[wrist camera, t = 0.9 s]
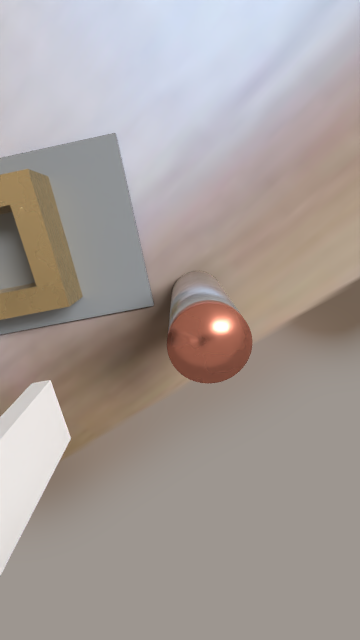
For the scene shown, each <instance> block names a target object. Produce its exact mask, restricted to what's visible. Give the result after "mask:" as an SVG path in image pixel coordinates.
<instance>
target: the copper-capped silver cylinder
mask: <svg viewBox="0 0 360 640" xmlns="http://www.w3.org/2000/svg"><path fill="white" fill-rule="evenodd" d="M167 350H168V355H169V358H170V360H171V362H172V364H173V366H174V367H175V368H176V369H177V371H179V372H180V373H181V374H182V375H183V376H185V377H186V378H188V379H190V380H193V381H196V382H200V383H217V382H221V381H224V380H227V379H229V378H231V377H232V376H234V375H235V374H237V373H238V372H239V371H240V370H241V369H242V368H243V366H244V365H245V364H246V363H247V361H248V359H249V356H250V354H251V350H252V335H251V331H250V329H249V326H248V324H247V323H246V321H245V320H244V318H243V317H242V315H241V314H240V312H239V311H238V309H237V308H236V307H235V305H234V304H233V302H232V301H231V299H230V298H229V296H228V295H227V293H226V292H225V291H224V289H223V288H222V286H221V285H220V283H219V282H218V280H217V279H216V278H215V277H214V276H212V275H211V274H209V273H207V272H203V271H192V272H188V273H186V274H184V275H183V276H181V277H180V278H179V279H178V280H177V282H176V283H175V285H174V287H173V290H172V298H171V308H170V318H169V328H168V338H167Z"/></svg>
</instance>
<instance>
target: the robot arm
mask: <svg viewBox="0 0 360 640" xmlns="http://www.w3.org/2000/svg"><path fill="white" fill-rule="evenodd" d="M70 439H71V437H70V434H69V431H68V429H67V426H66V423H65V420H64V417H63V414H62V412H61V409H60V406H59V403H58V400H57V397H56V395H55V392H54V389H53V386H52V383H51V380H48V381H42V382H37V383H32V384H31V385H30V386H29V387H28V388H27V389H26V390H25V391H24V392H23V393H22V394H21V395H20V397H19V398H18V399H17V400H16V401H15V402H14V403H13V404H12V405H11V406H10V407H9V408H8V409H7V410H6V411H5V412H4V414H3V415H2V416H1V417H0V575H1V573H2V571H3V570H4V568H5V566H6V564H7V561H8V560H9V558H10V556H11V554H12V552H13V550H14V548H15V546H16V544H17V542H18V540H19V538H20V536H21V535H22V533H23V531H24V529H25V527H26V525H27V523H28V521H29V519H30V517H31V515H32V513H33V511H34V509H35V507H36V505H37V503H38V501H39V500H40V498H41V496H42V494H43V492H44V490H45V488H46V486H47V484H48V482H49V480H50V478H51V476H52V474H53V472H54V470H55V468H56V466H57V465H58V463H59V461H60V459H61V457H62V455H63V453H64V451H65V449H66V447H67V445H68V443H69V441H70Z"/></svg>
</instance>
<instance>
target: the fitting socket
mask: <svg viewBox="0 0 360 640" xmlns="http://www.w3.org/2000/svg"><path fill="white" fill-rule="evenodd" d="M9 212H13V215H14V219H15V222H16V225H17V228H18V231H19V234H20V237H21V240H22V243H23V246H24V249H25V252H26V255H27V258H28V261H29V264H30V267H31V270H32V273H33V277H34V280H35V283H31V284H26V285H21V286H16V287H11V288H6V289H1V290H0V320H2V319H7V318H12V317H17V316H23V315H28V314H33V313H38V312H44V311H49V310H54V309H59V308H64V307H70V306H71V305H72V304H74V303H75V302H76V301H78V300H79V299H80V298H82V297H83V295H82V292H81V288H80V285H79V281H78V278H77V274H76V271H75V267H74V264H73V260H72V257H71V253H70V250H69V246H68V243H67V240H66V236H65V233H64V229H63V226H62V222H61V219H60V215H59V212H58V208H57V205H56V201H55V198H54V194H53V191H52V187H51V184H50V180H49V177H48V176H46V175H43V174H40V173H38V172H35V171H32V170H30V169H24V170H19V171H15V172H10V173H6V174H1V175H0V214H4V213H9Z"/></svg>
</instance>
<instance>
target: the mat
mask: <svg viewBox="0 0 360 640" xmlns="http://www.w3.org/2000/svg"><path fill="white" fill-rule="evenodd" d="M24 169H30V170H32V171H35V172H38V173H40V174H43V175H46V176H48V177H49V180H50V184H51V187H52V191H53V194H54V198H55V201H56V205H57V208H58V212H59V215H60V219H61V222H62V226H63V229H64V233H65V236H66V240H67V243H68V246H69V250H70V253H71V257H72V260H73V264H74V267H75V271H76V274H77V278H78V281H79V285H80V288H81V292H82V295H83V297H82V298H80V299H79V300H78V301H76V302H75V303H74V304H72V305H71V306H70V307H64V308H59V309H54V310H49V311H44V312H38V313H33V314H28V315H23V316H17V317H12V318H7V319H2V320H0V335H1V334H6V333H11V332H16V331H22V330H27V329H32V328H38V327H43V326H48V325H53V324H59V323H64V322H69V321H75V320H80V319H85V318H91V317H96V316H101V315H106V314H112V313H117V312H122V311H128V310H133V309H138V308H143V307H149V306H154V303H153V298H152V294H151V289H150V285H149V280H148V276H147V271H146V267H145V262H144V258H143V253H142V249H141V244H140V240H139V235H138V231H137V226H136V222H135V217H134V213H133V208H132V204H131V199H130V195H129V190H128V186H127V181H126V177H125V172H124V168H123V164H122V159H121V155H120V150H119V146H118V141H117V137H116V134H115V133H112V134H108V135H103V136H98V137H94V138H89V139H85V140H80V141H76V142H71V143H67V144H62V145H57V146H53V147H48V148H44V149H39V150H35V151H30V152H25V153H21V154H16V155H12V156H7V157H3V158H0V175H1V174H6V173H10V172H15V171H19V170H24ZM31 283H35V280H34V277H33V273H32V270H31V267H30V264H29V261H28V258H27V255H26V252H25V249H24V246H23V243H22V240H21V237H20V234H19V231H18V228H17V225H16V222H15V219H14V215H13V212H9V213H4V214H0V290H1V289H6V288H11V287H16V286H21V285H26V284H31Z"/></svg>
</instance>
